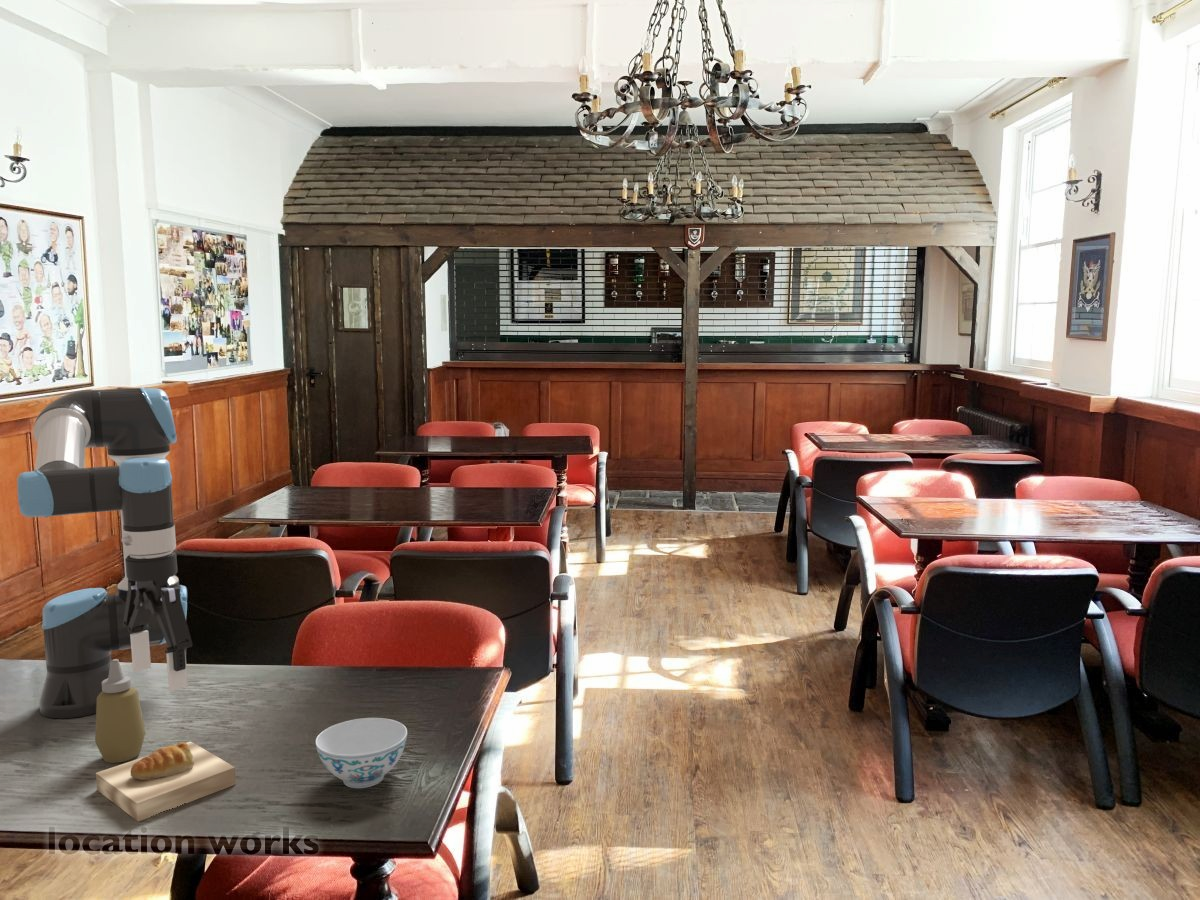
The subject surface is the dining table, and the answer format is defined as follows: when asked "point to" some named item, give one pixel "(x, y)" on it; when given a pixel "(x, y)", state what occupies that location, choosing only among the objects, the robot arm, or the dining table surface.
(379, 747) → the chinaware
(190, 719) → the dining table surface
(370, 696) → the dining table surface
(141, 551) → the robot arm
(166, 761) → the pastry
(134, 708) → the squeeze bottle
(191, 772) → the serving board
